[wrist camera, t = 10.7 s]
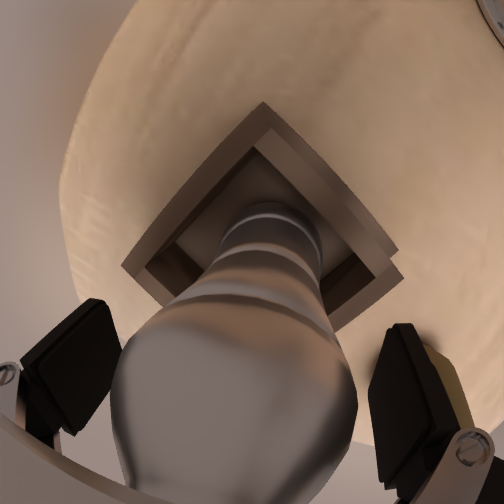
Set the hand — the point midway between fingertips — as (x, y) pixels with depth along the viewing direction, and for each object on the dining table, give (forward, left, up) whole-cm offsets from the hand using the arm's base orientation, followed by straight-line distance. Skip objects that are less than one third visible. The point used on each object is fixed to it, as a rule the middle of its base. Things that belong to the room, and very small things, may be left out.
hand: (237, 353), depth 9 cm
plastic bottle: (0, 0, -12) cm, 12 cm away
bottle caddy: (0, 0, -13) cm, 13 cm away
